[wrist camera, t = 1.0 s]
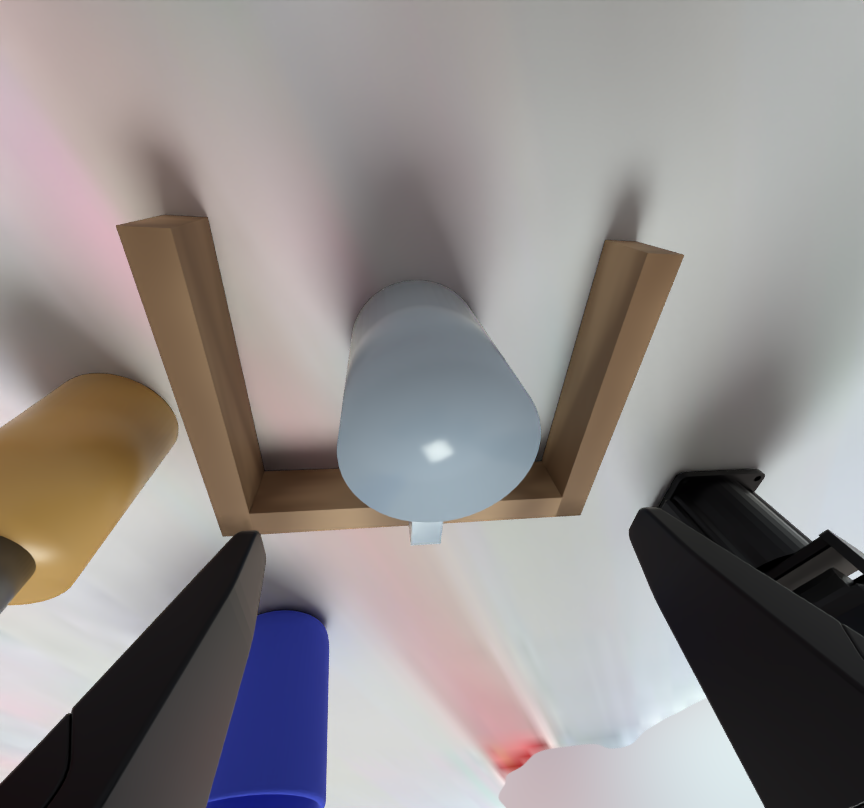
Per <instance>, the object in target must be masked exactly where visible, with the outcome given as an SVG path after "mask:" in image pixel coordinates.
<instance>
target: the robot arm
mask: <svg viewBox="0 0 864 808" xmlns="http://www.w3.org/2000/svg"><path fill="white" fill-rule="evenodd" d="M764 477H765V474H764V473H762V472H761V471H760V470H759V469H749V470H726V471H703V472H684V473H681V474H679V475H677V476H676V478H675V479H674V481H673V483H672V485H671V486H670V488H669V490H668V492H667V494H666V495H665V497H664V499H663V501H662V503H661V505H660V506H659V508H657V507H648V508H641V509H640V510H639V511H638V513H637V515H636V517H635V519H634V521H633V523H632V525H631V527H630V529H629V538H630V541H631V543H632V546H633V548H634V551H635V553H636V555H637V558H638V560H639V562H640V565H641V567H642V570H643V572H644V574H645V577H646V579H647V582H648V584H649V586H650V589H651V591H652V593H653V596H654V598H655V600H656V602H657V604H658V606H659V608H660V610H661V612H662V614H663V616H664V617H665V619H666V621H667V623H668V625H669V627H670V629H671V631H672V633H673V635H674V636H675V638H676V640H677V642H678V644H679V646H680V648H681V650H682V652H683V653H684V655H685V657H686V659H687V661H688V663H689V665H690V667H691V669H692V670H693V672H694V674H695V676H696V678H697V680H698V682H699V684H700V686H701V688H702V689H703V691H704V693H705V695H706V697H707V699H708V701H709V703H710V705H711V706H712V708H713V710H714V712H715V714H716V716H717V718H718V720H719V721H720V723H721V725H722V727H723V729H724V731H725V733H726V735H727V737H728V739H729V741H730V742H731V744H732V746H733V748H734V750H735V752H736V754H737V756H738V757H739V759H740V761H741V763H742V765H743V767H744V769H745V771H746V773H747V775H748V776H749V778H750V780H751V782H752V784H753V786H754V788H755V790H756V792H757V794H758V795H759V797H760V799H761V801H762V803H763V805H764V807H765V808H864V554H863V553H862V552H861V551H859V550H858V549H856V548H855V547H853V546H852V545H850V544H849V543H847V542H846V541H844V540H843V539H841V538H840V537H838V536H837V535H836V534H834V533H833V532H831V531H830V530H828V529H827V530H826V531H824V532H823V533H821V534H819V536H820V537H819V538H817V539H816V540H814V541H811V540H810V539H809V538H808V537H807V536H805V535H804V534H803V533H802V532H801V531H799V530H798V529H797V528H796V527H795V526H794V525H792V524H791V523H790V522H789V521H788V520H787V519H785V518H784V517H783V516H782V515H781V514H780V513H778V512H777V511H776V510H775V509H774V508H773V507H771V506H770V505H769V504H768V503H767V502H765V501H764V500H763V499H762V498H761V497H760V496H758V495H757V494H756V493H755V492H754V491H755V490H756V489H757V487H758V486H759V485H760V483H761V482H762V480H763V479H764ZM265 565H266V554H265V550H264V546H263V542H262V539H261V535H260V533H259V531H257V530H251V531H240V532H238V533H236V534H235V535H234V536H233V537H232V538H231V539H230V540H229V541H228V542H227V543H226V544H225V546H224V547H223V548H222V549H221V550H220V551H219V552H218V553H217V554H216V555H215V556H214V557H213V558H212V559H211V561H210V562H209V563H208V564H207V565H206V566H205V567H204V568H203V569H202V570H201V571H200V572H199V573H198V574H197V576H196V577H195V578H194V579H193V580H192V581H191V582H190V583H189V584H188V585H187V586H186V587H185V588H184V589H183V590H182V592H181V593H180V594H179V595H178V596H177V597H176V598H175V599H174V600H173V601H172V602H171V603H170V604H169V605H168V607H167V608H166V609H165V610H164V611H163V612H162V613H161V614H160V615H159V616H158V617H157V618H156V619H155V620H154V621H153V623H152V624H151V625H150V626H149V627H148V628H147V629H146V630H145V631H144V632H143V633H142V634H141V635H140V636H139V638H138V639H137V640H136V641H135V642H134V643H133V644H132V645H131V646H130V647H129V648H128V649H127V650H126V651H125V652H124V654H123V655H122V656H121V657H120V658H119V659H118V660H117V661H116V662H115V663H114V664H113V665H112V666H111V667H110V669H109V670H108V671H107V672H106V673H105V674H104V675H103V676H102V677H101V678H100V679H99V680H98V681H97V682H96V683H95V685H94V686H93V687H92V688H91V689H90V690H89V691H88V692H87V693H86V694H85V695H84V696H83V697H82V698H81V700H80V701H79V702H78V703H77V704H76V705H75V706H74V707H73V708H72V711H71V713H69V714H66V715H65V716H64V717H63V719H62V720H61V721H60V722H59V723H58V724H57V725H56V726H55V727H54V728H53V729H52V730H51V731H50V732H49V733H48V735H47V736H46V737H45V738H44V739H43V740H42V741H41V742H40V743H39V744H38V745H37V746H36V747H35V748H34V749H33V750H32V751H31V752H30V753H29V754H28V755H27V757H26V758H25V759H24V760H23V761H22V762H21V763H20V764H19V765H18V766H17V767H16V768H15V769H14V770H13V771H12V772H11V773H10V774H9V775H8V776H7V777H6V778H5V779H4V780H3V781H2V782H1V783H0V808H206V806H207V802H208V799H209V795H210V792H211V788H212V784H213V781H214V777H215V774H216V770H217V767H218V763H219V759H220V756H221V752H222V749H223V745H224V741H225V738H226V734H227V731H228V727H229V724H230V720H231V716H232V713H233V709H234V706H235V702H236V699H237V695H238V691H239V688H240V684H241V681H242V677H243V673H244V670H245V666H246V663H247V659H248V656H249V652H250V648H251V644H252V640H253V636H254V630H255V625H256V619H257V613H258V607H259V601H260V595H261V589H262V583H263V577H264V571H265ZM857 570H859V571H860V572H862V573H863V575H861V576H859V577H858V578H856V579H854V580H852V579H850V578H849V577H847V576H849V575H850V574H852V573H854V572H856V571H857Z"/></svg>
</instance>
